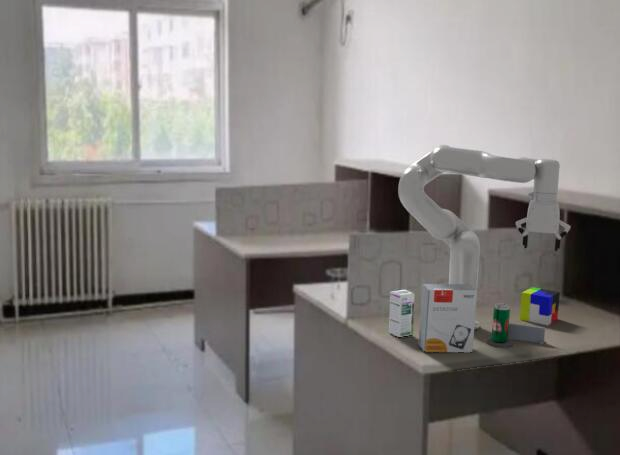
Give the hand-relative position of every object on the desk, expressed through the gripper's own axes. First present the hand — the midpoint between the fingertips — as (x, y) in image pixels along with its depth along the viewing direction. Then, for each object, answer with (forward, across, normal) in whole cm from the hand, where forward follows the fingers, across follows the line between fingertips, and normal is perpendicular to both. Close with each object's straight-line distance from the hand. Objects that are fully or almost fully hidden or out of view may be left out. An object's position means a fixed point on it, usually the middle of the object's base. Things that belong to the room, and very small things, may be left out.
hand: (540, 249), depth 249 cm
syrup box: (+28, -40, -23) cm, 54 cm away
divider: (+28, -4, -11) cm, 31 cm away
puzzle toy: (+29, 0, +16) cm, 33 cm away
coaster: (+28, -9, -18) cm, 34 cm away
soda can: (+28, -9, -17) cm, 34 cm away
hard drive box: (+29, -24, -31) cm, 48 cm away
